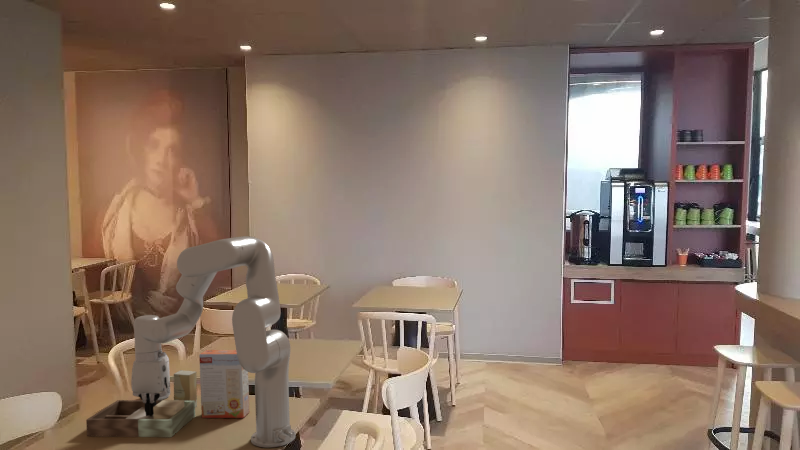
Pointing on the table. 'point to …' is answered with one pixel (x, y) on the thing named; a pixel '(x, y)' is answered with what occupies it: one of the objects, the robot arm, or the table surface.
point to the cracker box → (223, 385)
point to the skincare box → (185, 386)
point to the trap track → (136, 420)
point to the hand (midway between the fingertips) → (150, 414)
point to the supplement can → (168, 378)
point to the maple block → (167, 408)
